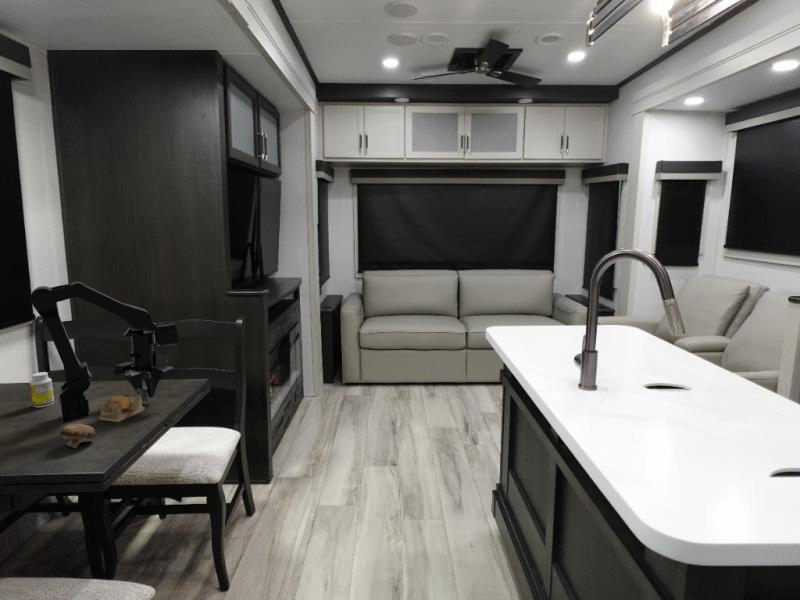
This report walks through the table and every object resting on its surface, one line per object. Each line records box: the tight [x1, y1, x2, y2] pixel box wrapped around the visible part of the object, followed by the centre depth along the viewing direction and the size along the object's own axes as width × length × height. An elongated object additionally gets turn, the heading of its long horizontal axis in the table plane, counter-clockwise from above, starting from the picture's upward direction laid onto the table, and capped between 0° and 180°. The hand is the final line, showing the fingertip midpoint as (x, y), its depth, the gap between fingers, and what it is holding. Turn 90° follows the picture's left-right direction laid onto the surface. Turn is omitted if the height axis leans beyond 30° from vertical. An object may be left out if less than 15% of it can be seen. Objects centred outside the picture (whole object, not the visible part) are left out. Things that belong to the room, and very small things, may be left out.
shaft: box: [116, 385, 155, 403], centre depth 154 cm, size 12×4×4 cm, turn 163°
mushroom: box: [59, 423, 97, 449], centre depth 129 cm, size 8×8×6 cm
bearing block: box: [98, 392, 146, 423], centre depth 150 cm, size 10×7×5 cm
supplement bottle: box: [29, 371, 55, 409], centre depth 158 cm, size 6×6×10 cm
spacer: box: [110, 395, 129, 409], centre depth 149 cm, size 2×4×3 cm, turn 73°
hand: (146, 396), depth 159 cm, fingers closed on shaft, 4 cm apart
